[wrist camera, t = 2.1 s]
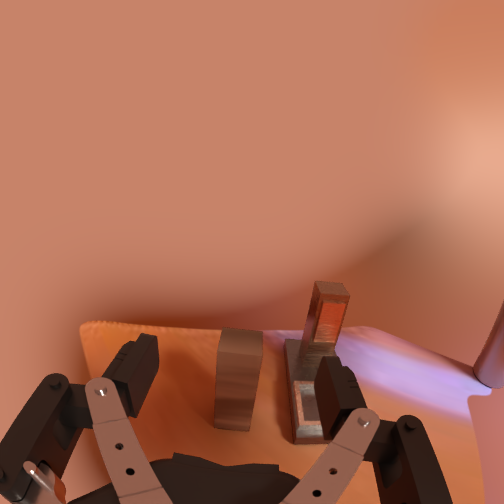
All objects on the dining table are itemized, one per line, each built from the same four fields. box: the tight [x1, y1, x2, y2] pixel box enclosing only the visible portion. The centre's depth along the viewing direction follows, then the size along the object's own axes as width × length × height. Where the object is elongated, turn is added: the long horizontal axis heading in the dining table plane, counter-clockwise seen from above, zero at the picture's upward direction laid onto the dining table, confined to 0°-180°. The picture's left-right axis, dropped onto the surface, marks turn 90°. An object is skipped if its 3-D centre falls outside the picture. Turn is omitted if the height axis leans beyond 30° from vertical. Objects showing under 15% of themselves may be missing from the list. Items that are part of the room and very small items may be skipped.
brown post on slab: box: [284, 281, 350, 444], centre depth 33 cm, size 20×8×14 cm, turn 178°
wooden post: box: [214, 327, 263, 431], centre depth 27 cm, size 4×4×12 cm
